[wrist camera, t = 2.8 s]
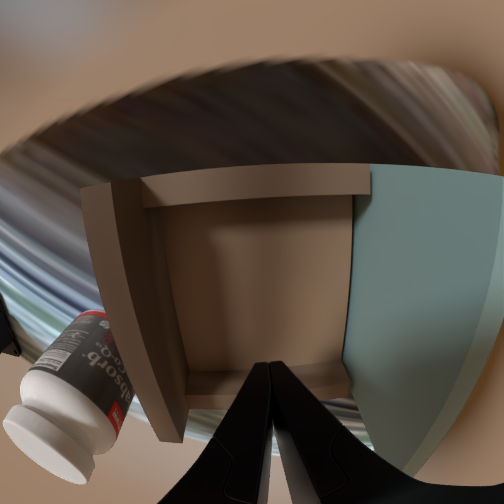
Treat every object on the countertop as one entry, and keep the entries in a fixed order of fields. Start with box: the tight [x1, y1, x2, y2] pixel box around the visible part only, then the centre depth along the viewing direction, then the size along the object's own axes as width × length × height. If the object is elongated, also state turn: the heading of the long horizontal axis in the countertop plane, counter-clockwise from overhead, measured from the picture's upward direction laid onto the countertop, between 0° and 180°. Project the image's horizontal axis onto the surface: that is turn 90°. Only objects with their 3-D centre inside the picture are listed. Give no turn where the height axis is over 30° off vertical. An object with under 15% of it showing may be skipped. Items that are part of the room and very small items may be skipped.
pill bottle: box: [3, 309, 135, 485], centre depth 11 cm, size 6×6×10 cm
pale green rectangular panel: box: [342, 164, 504, 478], centre depth 10 cm, size 1×12×9 cm, turn 3°
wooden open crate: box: [80, 163, 370, 443], centre depth 12 cm, size 10×12×6 cm
